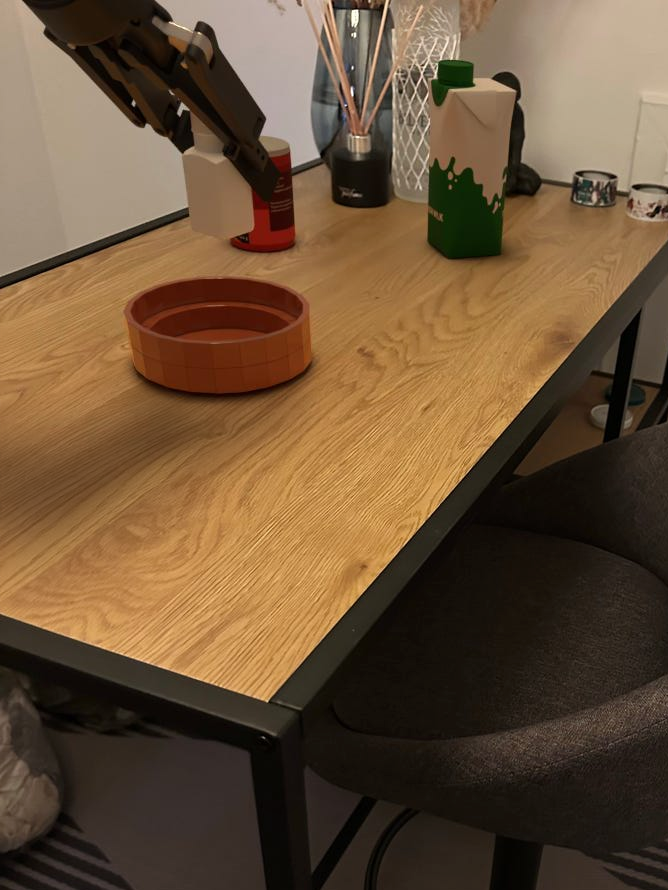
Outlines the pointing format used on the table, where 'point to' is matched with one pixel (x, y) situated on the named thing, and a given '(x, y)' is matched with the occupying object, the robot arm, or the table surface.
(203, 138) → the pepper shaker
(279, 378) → the bowl
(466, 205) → the milk carton
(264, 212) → the canned food
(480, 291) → the table surface
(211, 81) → the robot arm
